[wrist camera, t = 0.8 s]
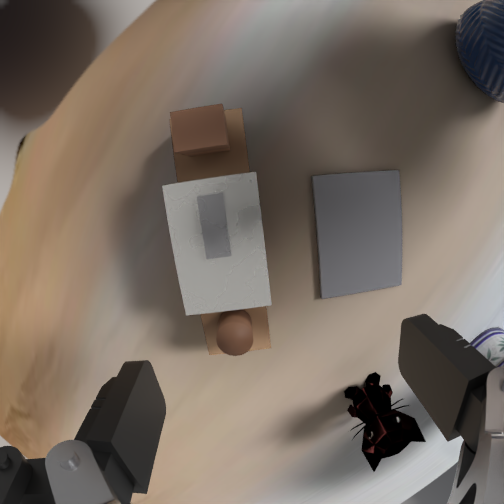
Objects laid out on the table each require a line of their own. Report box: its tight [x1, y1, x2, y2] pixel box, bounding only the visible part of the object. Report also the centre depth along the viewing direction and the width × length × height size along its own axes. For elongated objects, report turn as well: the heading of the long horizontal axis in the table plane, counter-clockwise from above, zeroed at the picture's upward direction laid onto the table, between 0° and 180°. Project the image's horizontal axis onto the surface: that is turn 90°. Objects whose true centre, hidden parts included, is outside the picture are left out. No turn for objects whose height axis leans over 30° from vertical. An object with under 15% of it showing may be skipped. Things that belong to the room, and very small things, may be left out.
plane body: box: [170, 104, 271, 356], centre depth 24 cm, size 20×6×11 cm, turn 7°
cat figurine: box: [344, 372, 426, 471], centre depth 29 cm, size 7×7×12 cm
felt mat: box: [311, 170, 402, 299], centre depth 30 cm, size 12×9×1 cm
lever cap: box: [162, 172, 272, 315], centre depth 22 cm, size 9×6×5 cm, turn 7°
